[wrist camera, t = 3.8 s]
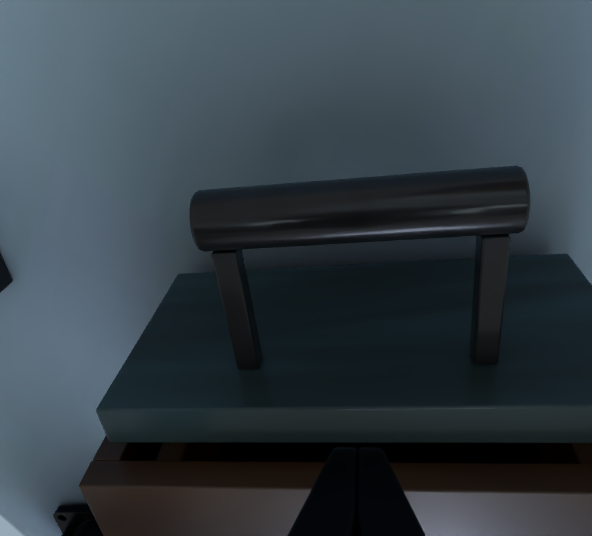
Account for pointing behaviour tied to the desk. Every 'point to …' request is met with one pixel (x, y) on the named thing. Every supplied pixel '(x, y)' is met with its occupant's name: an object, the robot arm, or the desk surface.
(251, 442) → the drawer
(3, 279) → the black block orange patch
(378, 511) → the robot arm
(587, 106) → the desk surface
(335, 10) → the desk surface
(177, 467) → the cabinet
